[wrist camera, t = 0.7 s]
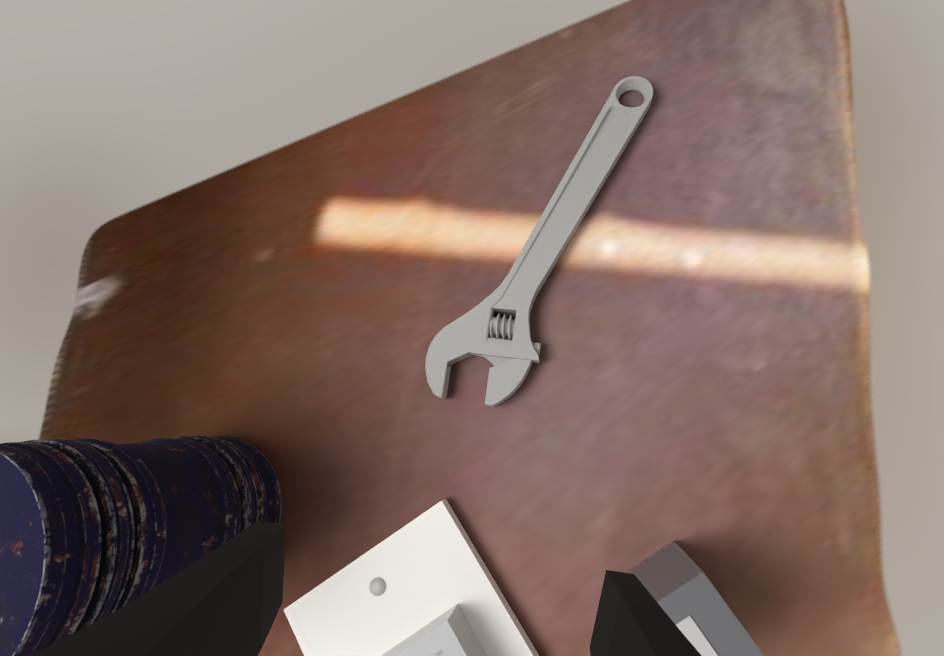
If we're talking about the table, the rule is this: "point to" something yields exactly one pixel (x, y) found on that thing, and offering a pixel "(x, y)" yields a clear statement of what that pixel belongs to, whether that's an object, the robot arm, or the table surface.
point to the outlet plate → (411, 600)
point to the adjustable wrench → (536, 260)
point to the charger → (694, 604)
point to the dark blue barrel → (114, 524)
